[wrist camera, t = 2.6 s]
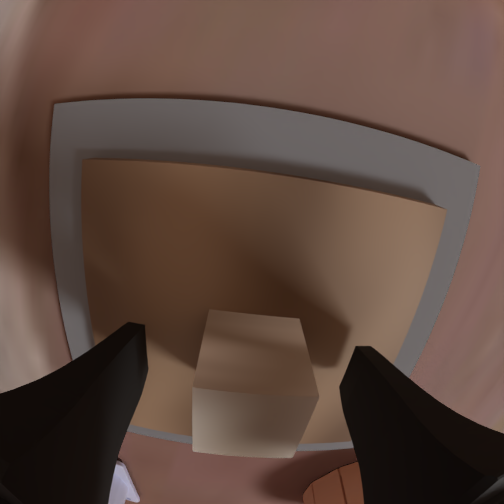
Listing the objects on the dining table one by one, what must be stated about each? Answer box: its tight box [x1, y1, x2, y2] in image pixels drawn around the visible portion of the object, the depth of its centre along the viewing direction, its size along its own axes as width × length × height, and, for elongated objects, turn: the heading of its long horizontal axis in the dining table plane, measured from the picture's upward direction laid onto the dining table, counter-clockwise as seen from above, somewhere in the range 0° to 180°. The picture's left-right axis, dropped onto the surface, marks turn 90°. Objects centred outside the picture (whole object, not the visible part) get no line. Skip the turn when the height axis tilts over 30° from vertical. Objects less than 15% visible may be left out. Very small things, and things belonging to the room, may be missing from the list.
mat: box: [49, 98, 480, 451], centre depth 11 cm, size 16×16×1 cm
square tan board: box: [81, 158, 447, 458], centre depth 9 cm, size 12×12×4 cm
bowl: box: [303, 462, 364, 504], centre depth 15 cm, size 10×10×4 cm
